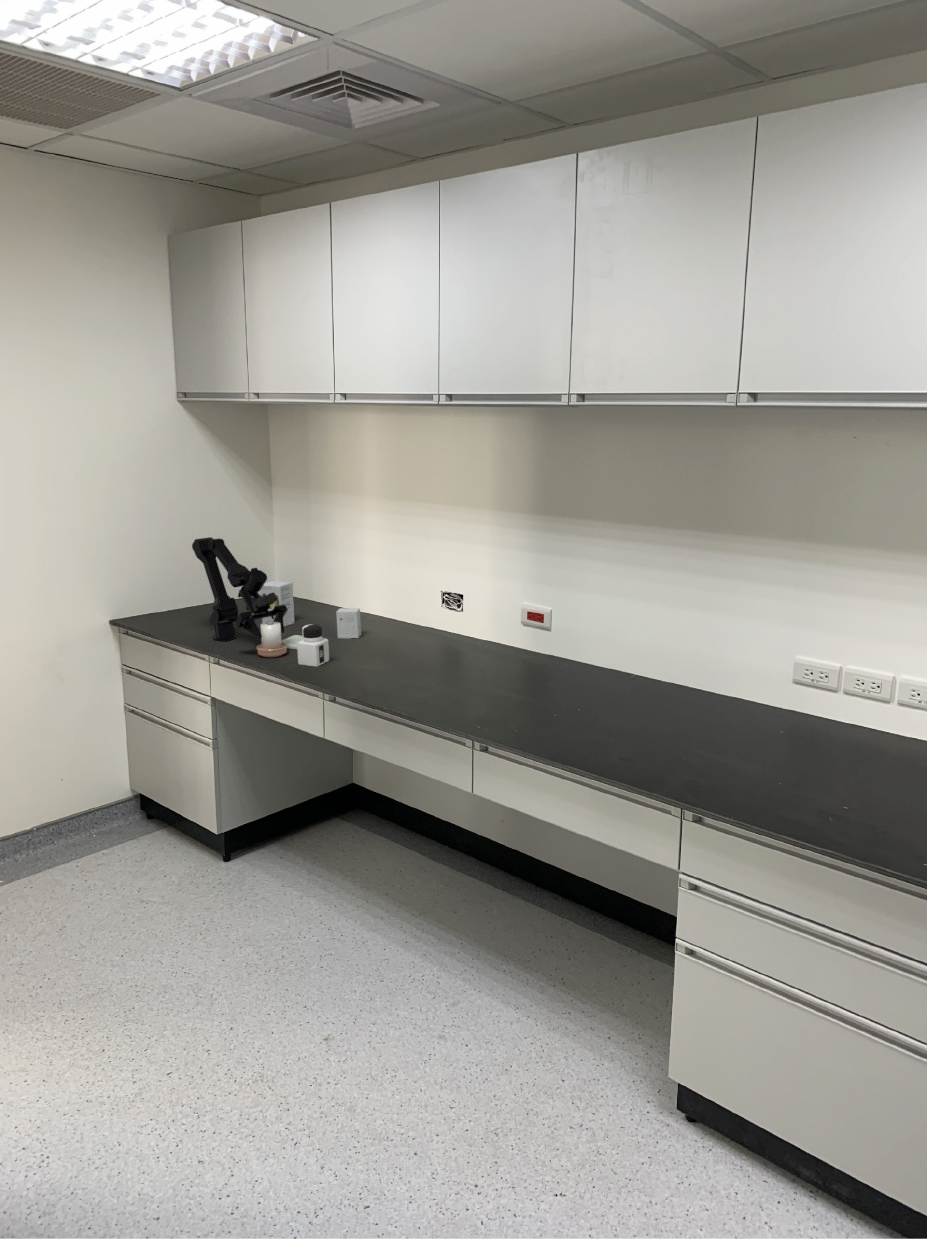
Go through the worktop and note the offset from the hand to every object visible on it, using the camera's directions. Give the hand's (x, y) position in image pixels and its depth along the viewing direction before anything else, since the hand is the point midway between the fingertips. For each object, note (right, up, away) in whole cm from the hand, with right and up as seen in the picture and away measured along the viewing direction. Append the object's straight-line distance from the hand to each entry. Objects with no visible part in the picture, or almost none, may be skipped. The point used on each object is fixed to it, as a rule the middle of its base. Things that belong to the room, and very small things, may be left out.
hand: (272, 635), depth 308 cm
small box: (+24, -1, +25) cm, 34 cm away
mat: (+7, -3, +16) cm, 18 cm away
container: (+16, -10, -8) cm, 20 cm away
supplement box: (-7, +3, +44) cm, 45 cm away
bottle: (-1, -4, +2) cm, 4 cm away
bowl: (-1, -7, +2) cm, 7 cm away
